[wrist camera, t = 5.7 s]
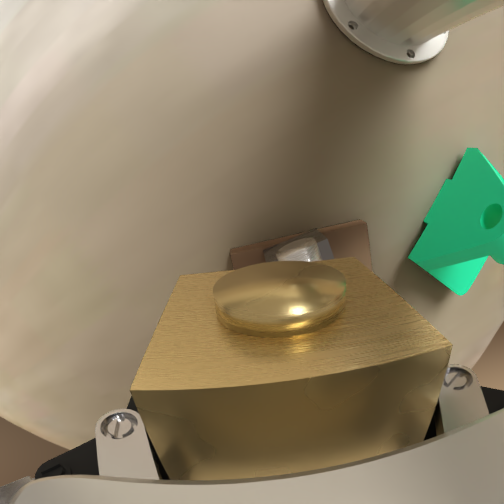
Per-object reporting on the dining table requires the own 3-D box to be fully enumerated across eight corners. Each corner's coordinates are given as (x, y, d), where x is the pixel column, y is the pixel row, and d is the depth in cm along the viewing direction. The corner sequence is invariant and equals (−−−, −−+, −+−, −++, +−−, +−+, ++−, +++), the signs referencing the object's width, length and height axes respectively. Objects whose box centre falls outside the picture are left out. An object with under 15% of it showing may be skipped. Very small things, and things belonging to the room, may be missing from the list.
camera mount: (449, 288, 28) (510, 335, 18) (402, 253, 27) (468, 299, 17) (501, 192, 26) (571, 212, 16) (460, 147, 24) (538, 152, 14)
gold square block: (177, 258, 11) (119, 362, 5) (354, 240, 11) (458, 318, 5) (210, 416, 13) (203, 536, 7) (346, 399, 13) (393, 507, 7)
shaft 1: (261, 246, 25) (266, 267, 20) (314, 224, 24) (331, 239, 20) (300, 339, 27) (311, 371, 22) (347, 319, 27) (365, 348, 22)
